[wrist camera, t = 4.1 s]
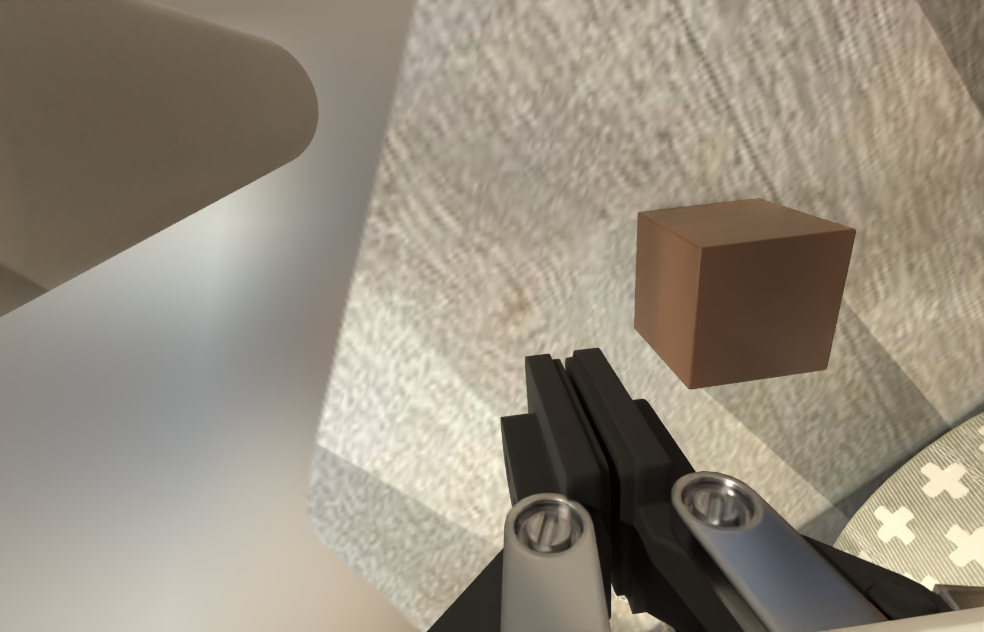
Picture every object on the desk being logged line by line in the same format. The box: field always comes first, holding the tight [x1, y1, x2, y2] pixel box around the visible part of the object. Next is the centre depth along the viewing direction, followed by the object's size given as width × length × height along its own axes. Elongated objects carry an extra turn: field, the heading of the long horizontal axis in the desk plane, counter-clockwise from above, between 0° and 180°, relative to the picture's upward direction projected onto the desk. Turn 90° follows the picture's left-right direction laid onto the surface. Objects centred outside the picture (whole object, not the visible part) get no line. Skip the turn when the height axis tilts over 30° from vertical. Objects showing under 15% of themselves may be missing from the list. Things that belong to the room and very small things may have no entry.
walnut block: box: [634, 198, 856, 389], centre depth 17 cm, size 4×4×4 cm
